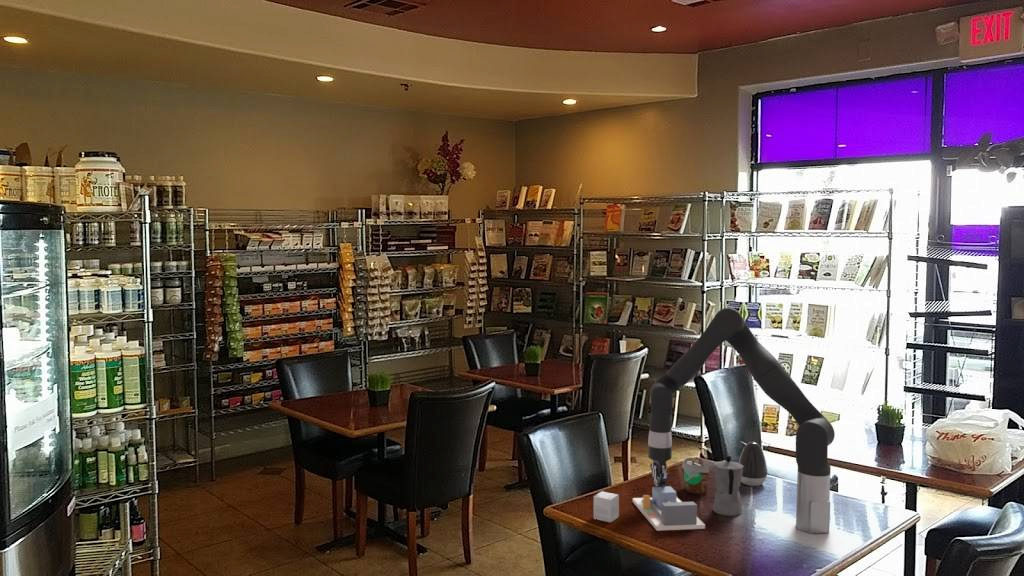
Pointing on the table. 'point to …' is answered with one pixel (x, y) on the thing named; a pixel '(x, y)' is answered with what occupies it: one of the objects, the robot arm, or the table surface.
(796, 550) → the table surface
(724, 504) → the coffeepot
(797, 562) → the table surface
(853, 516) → the table surface
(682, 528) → the bench
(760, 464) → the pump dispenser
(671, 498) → the plunger
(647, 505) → the block
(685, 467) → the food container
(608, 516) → the skincare box
